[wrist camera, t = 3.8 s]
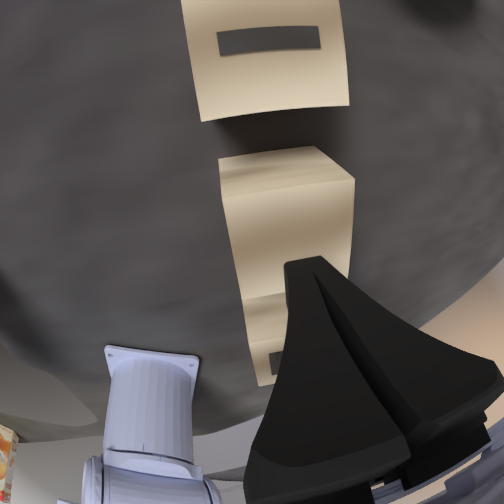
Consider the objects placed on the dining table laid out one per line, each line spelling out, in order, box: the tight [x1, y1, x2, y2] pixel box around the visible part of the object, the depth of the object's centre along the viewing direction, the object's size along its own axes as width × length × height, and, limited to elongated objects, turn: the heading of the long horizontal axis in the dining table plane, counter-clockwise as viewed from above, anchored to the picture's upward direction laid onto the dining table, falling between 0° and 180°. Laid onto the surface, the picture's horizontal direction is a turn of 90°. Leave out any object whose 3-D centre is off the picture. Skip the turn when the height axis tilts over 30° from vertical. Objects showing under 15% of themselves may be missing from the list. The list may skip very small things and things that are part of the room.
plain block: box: [218, 146, 355, 300], centre depth 14 cm, size 5×5×5 cm
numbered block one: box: [181, 0, 349, 122], centre depth 9 cm, size 5×5×5 cm
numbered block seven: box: [241, 292, 288, 386], centre depth 18 cm, size 5×5×5 cm
